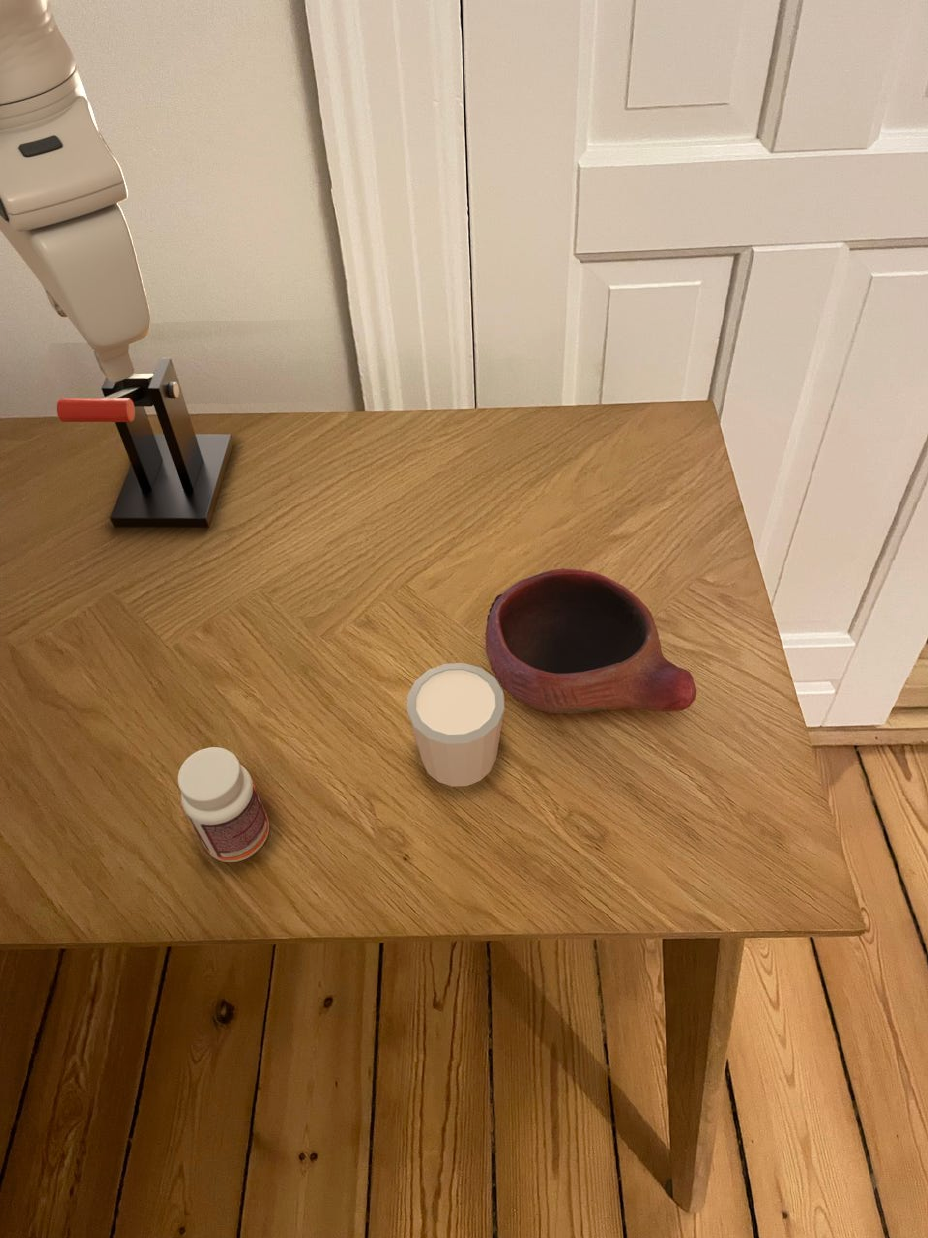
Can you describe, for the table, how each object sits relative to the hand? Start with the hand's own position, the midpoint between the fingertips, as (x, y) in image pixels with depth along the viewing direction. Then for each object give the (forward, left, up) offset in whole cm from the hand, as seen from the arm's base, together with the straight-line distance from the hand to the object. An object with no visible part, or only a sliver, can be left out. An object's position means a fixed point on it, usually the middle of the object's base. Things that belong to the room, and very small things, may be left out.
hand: (92, 341), depth 64 cm
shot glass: (+14, -27, -24) cm, 39 cm away
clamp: (+2, +13, -24) cm, 27 cm away
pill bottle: (-3, -26, -24) cm, 36 cm away
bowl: (+26, -25, -24) cm, 44 cm away
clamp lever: (0, +8, -12) cm, 15 cm away
